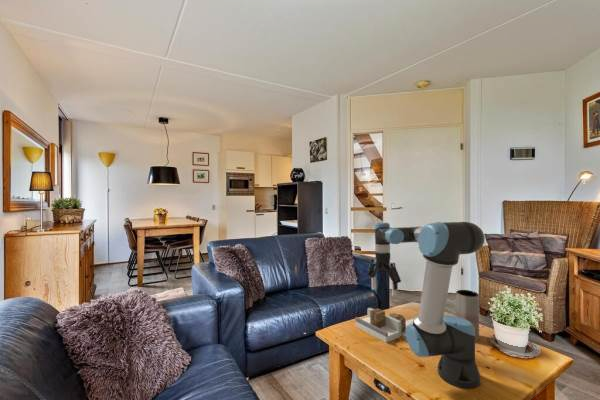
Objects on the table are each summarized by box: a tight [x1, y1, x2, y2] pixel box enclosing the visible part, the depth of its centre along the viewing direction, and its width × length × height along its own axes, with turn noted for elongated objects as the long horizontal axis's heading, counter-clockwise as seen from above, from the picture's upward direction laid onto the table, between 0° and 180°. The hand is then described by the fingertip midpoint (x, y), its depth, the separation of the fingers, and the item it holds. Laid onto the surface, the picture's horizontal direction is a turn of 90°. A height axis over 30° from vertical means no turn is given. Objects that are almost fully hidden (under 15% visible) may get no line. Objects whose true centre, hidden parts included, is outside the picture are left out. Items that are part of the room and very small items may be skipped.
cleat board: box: [354, 307, 402, 344], centre depth 155 cm, size 22×12×8 cm, turn 32°
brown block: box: [370, 308, 386, 328], centre depth 154 cm, size 5×7×8 cm
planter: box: [455, 289, 480, 342], centre depth 147 cm, size 10×10×23 cm
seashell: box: [388, 312, 406, 332], centre depth 159 cm, size 10×9×10 cm
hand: (383, 292), depth 150 cm, fingers open, 13 cm apart
